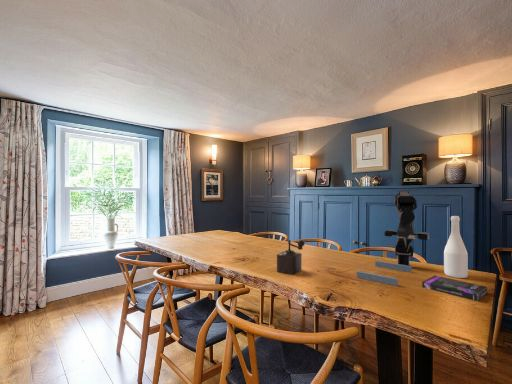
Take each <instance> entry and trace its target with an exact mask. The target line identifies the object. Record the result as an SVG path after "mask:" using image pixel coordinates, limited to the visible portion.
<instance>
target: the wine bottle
mask: <svg viewBox="0 0 512 384" xmlns="http://www.w3.org/2000/svg"><path fill="white" fill-rule="evenodd" d="M450 221H451V224H450V225H451V226H450V235H449V237H448V240H447V241H446V245H445V246H444V250H443V273H444V274H445V275H446V276H448V277H450V278H456V279H465V278H468V276H469V275H468V274H469V273H468V272H469V269H468V267H469V265H468V264H469V263H468V260H469V258H468V254H469V253H468V251H467V249H466V246H465V243H464V240H463V238H462V236H461V233H460V231H461V229H460V221H461V219H460V216H458V215H452V216H450Z"/></svg>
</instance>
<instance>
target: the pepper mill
mask: <svg viewBox="0 0 512 384" xmlns="http://www.w3.org/2000/svg"><path fill="white" fill-rule="evenodd" d="M296 243H297V245H296V244H292V243H291V240H290V239H289V240H288V243H287V245H288V249H287V250H284V251H282V252H279V253H277V254H276V272H277V273H280V274H288V275H296V274H297V275H298V273H300V272H301V271H302V253H301V252H296V251H294V250H292V249H291V246H292V247H293V248H297V249H298V250H300V251H301V250H303V247H304V246H305V241H304V240H303V239H299V240H298V241H297V242H296Z"/></svg>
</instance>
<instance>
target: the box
mask: <svg viewBox="0 0 512 384" xmlns="http://www.w3.org/2000/svg"><path fill="white" fill-rule="evenodd" d="M421 286H422V287H421V288H424V289H428V290H432V291H435V292H439V293H444V294H448V295H451V296H455V297H459V298H464V299H467V300H471V301H474V302H479V301H480V300H481V299H482V298H484V297H485V296H487V295H488V286H485V285H480V284H477V283H471V282H467V281H462V280H456V279H453V278H449V277H444V276H440V275H433V276H431V277H429V278H427V279H425V280H422V282H421Z"/></svg>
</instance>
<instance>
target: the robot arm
mask: <svg viewBox="0 0 512 384" xmlns="http://www.w3.org/2000/svg"><path fill="white" fill-rule="evenodd" d="M394 206H395V209H396V210H397V213H398V224H399V225H398V227H397V229H396V230H395V229H386V230H384V236H385V237H393V236H396V239H397V240H396V244H395V245H394V254H395V256H397V264H400V265H406V266H412V264H410V258H411V257H414V247H413V246H412V242H413V241H415V240H416V238H417V239H418V240H419V241H420V240H421V241H429V239H430V234H429V232H423V231H419V232H418V233H417V232H416V233H415V229H414V227H413V226H414V221H415V219H416V218H415V217H416V216H415V213H414V212H413V210H415V211H416V210H417V208H418V203H417V199H416V198H415V197H414V195H412V194H409V190H398V192H397V194H396V195H394Z"/></svg>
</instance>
